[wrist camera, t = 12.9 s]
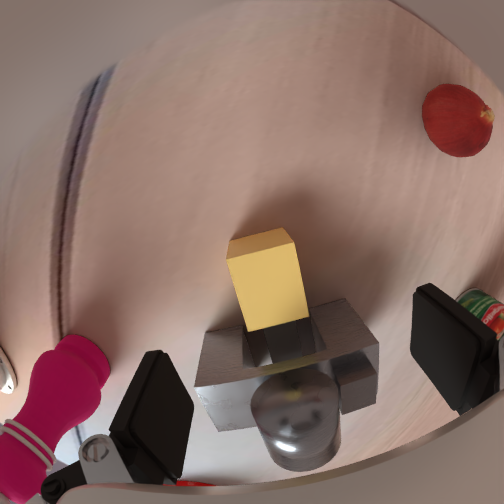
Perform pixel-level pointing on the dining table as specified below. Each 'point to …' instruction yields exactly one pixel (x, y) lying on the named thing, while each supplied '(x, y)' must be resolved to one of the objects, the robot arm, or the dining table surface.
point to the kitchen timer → (190, 484)
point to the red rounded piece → (457, 120)
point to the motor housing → (292, 386)
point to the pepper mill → (49, 414)
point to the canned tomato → (484, 309)
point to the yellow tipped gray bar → (269, 289)
